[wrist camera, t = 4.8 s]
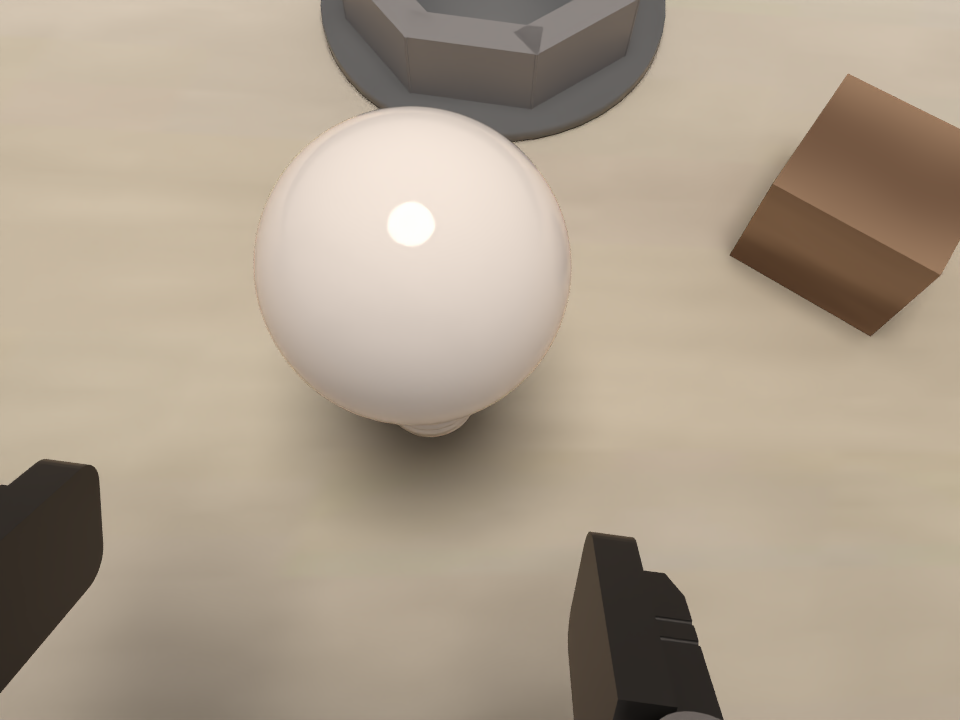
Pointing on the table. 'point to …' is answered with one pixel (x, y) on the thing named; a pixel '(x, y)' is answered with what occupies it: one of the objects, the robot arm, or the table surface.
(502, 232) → the lightbulb
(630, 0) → the socket collar
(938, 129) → the walnut block
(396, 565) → the table surface
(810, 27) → the table surface
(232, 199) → the table surface
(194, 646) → the table surface
